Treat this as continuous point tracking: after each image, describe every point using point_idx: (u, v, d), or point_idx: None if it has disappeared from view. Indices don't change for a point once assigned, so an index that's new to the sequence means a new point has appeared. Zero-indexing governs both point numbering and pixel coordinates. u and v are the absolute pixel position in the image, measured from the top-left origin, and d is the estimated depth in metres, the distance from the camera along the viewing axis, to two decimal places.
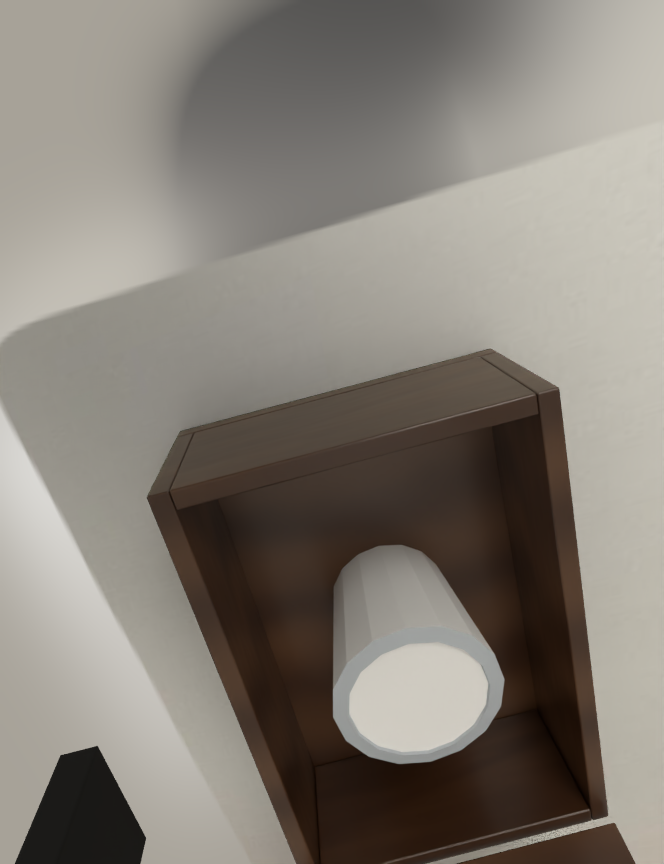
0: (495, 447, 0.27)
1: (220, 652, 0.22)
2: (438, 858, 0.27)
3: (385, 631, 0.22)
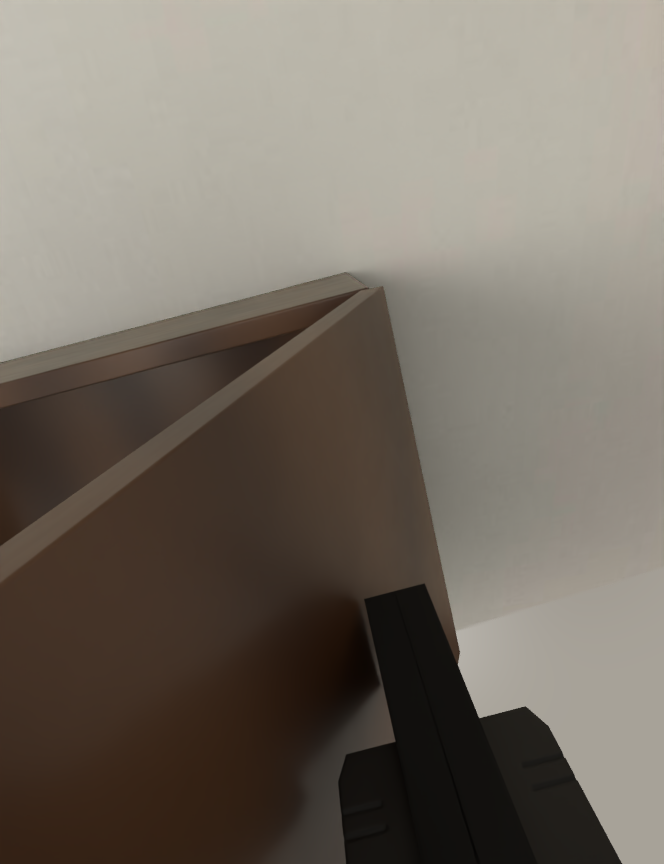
0: None
1: None
2: None
3: None
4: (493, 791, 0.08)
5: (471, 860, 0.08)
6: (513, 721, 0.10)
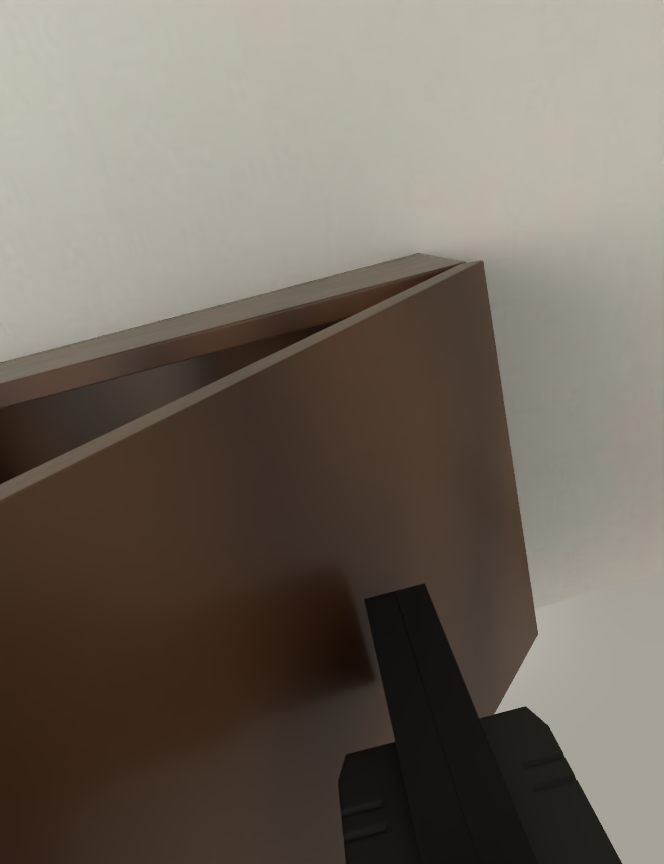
0: None
1: None
2: None
3: None
4: (493, 791, 0.08)
5: (471, 860, 0.08)
6: (513, 721, 0.10)
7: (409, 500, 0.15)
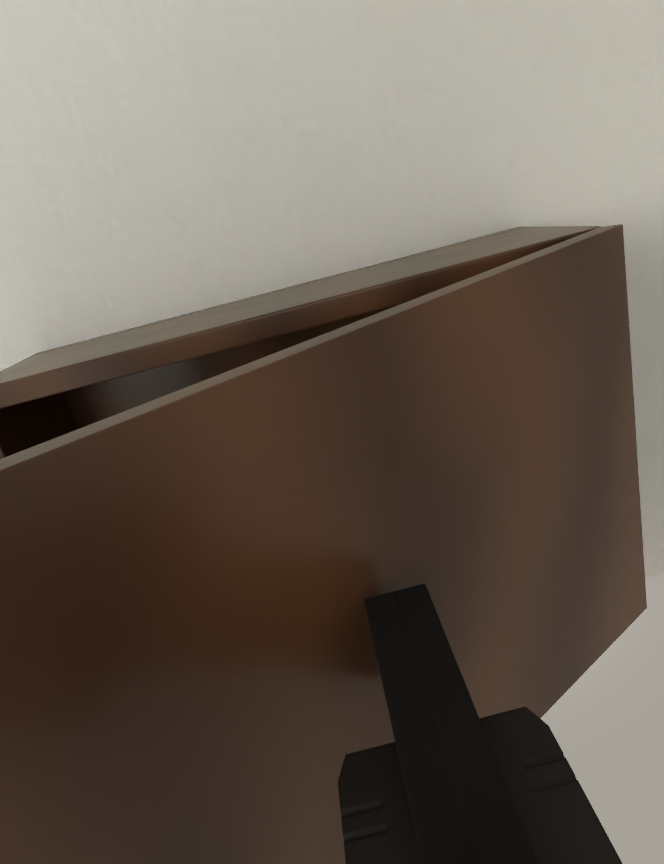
0: None
1: None
2: None
3: None
4: (493, 791, 0.08)
5: (471, 860, 0.08)
6: (513, 721, 0.10)
7: (514, 451, 0.16)
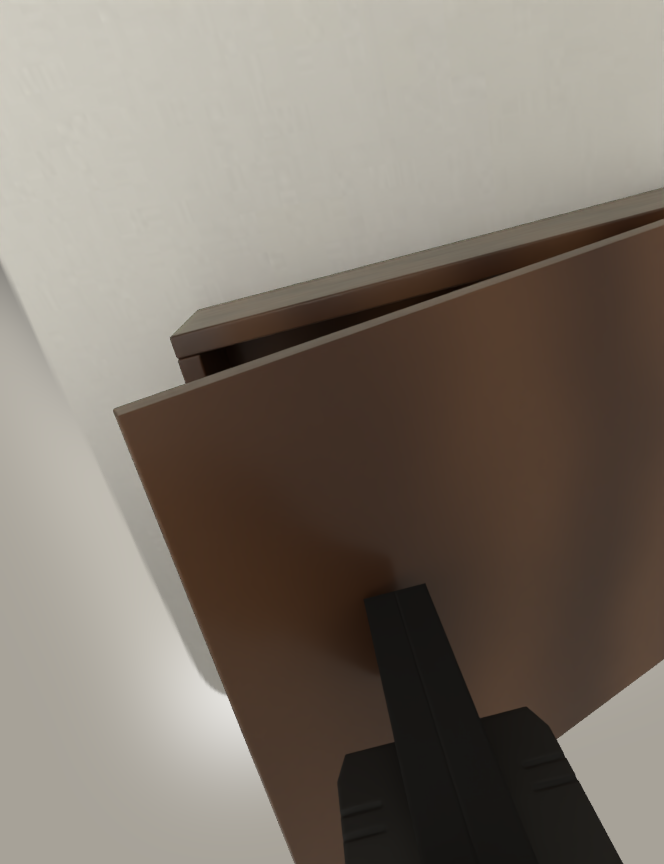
0: None
1: None
2: None
3: None
4: (494, 791, 0.08)
5: (472, 860, 0.08)
6: (514, 721, 0.10)
7: None
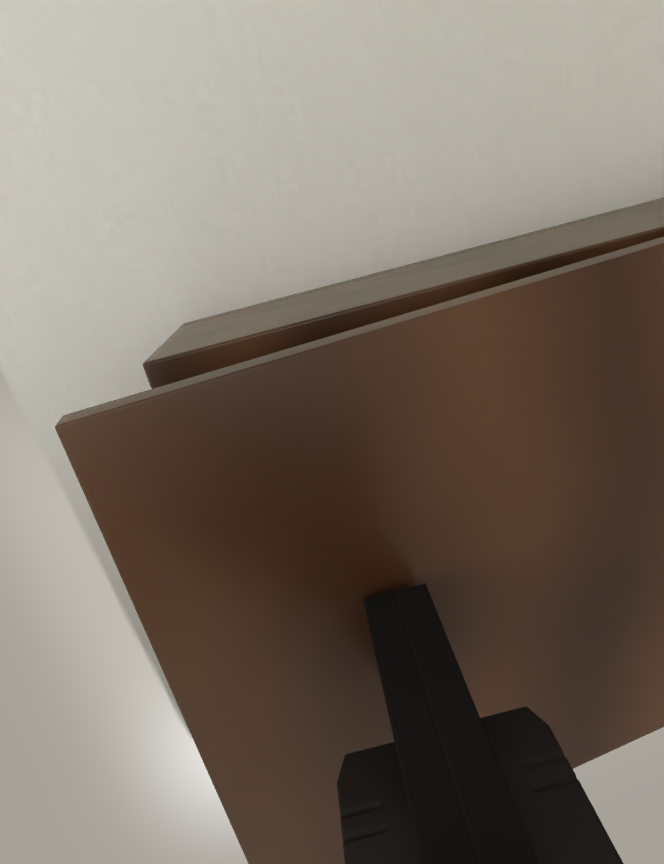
0: None
1: None
2: None
3: None
4: (494, 791, 0.08)
5: (472, 859, 0.08)
6: (514, 721, 0.10)
7: None
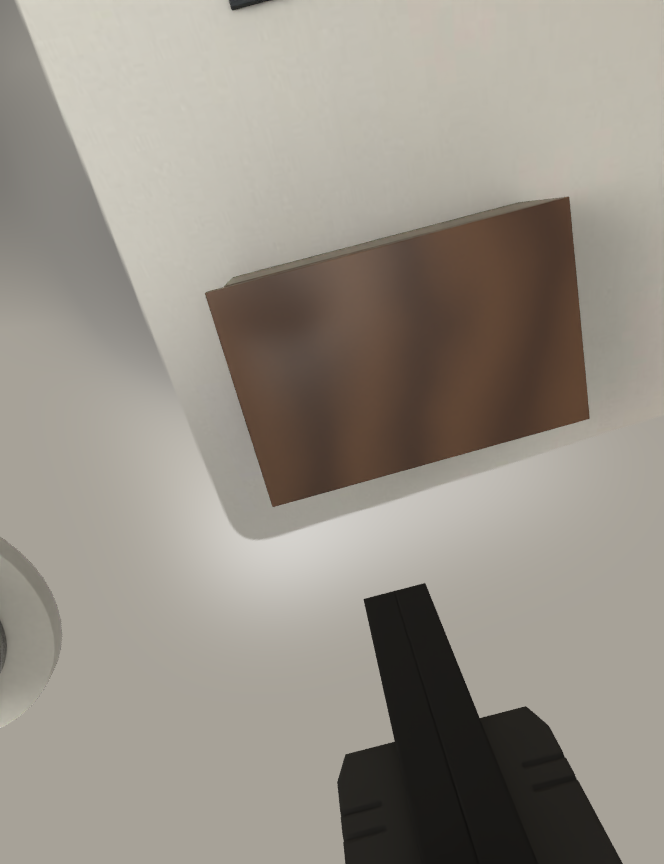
0: None
1: None
2: None
3: None
4: (494, 791, 0.08)
5: (472, 860, 0.08)
6: (513, 721, 0.10)
7: (481, 303, 0.36)
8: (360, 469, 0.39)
